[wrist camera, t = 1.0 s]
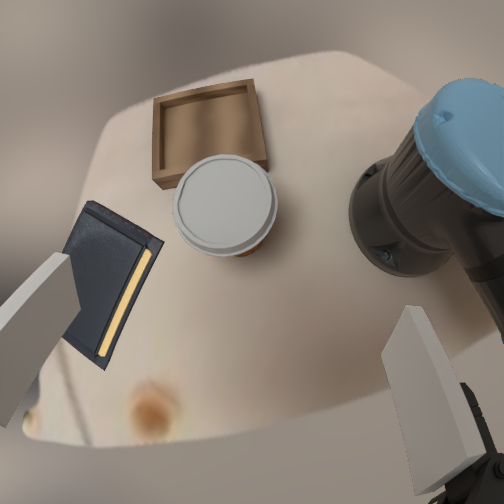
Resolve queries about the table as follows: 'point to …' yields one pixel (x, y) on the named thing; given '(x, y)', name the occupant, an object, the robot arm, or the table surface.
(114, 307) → the wallet
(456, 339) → the table surface
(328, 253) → the table surface
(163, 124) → the tray
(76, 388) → the table surface
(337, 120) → the table surface
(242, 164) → the disposable coffee cup
